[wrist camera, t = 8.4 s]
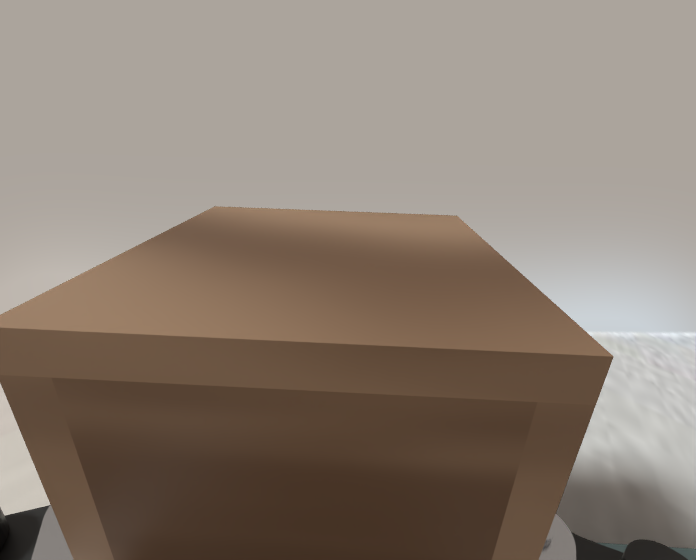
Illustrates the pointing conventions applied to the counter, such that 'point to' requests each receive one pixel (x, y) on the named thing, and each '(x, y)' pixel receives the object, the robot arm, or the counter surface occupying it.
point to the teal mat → (692, 555)
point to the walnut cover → (302, 393)
